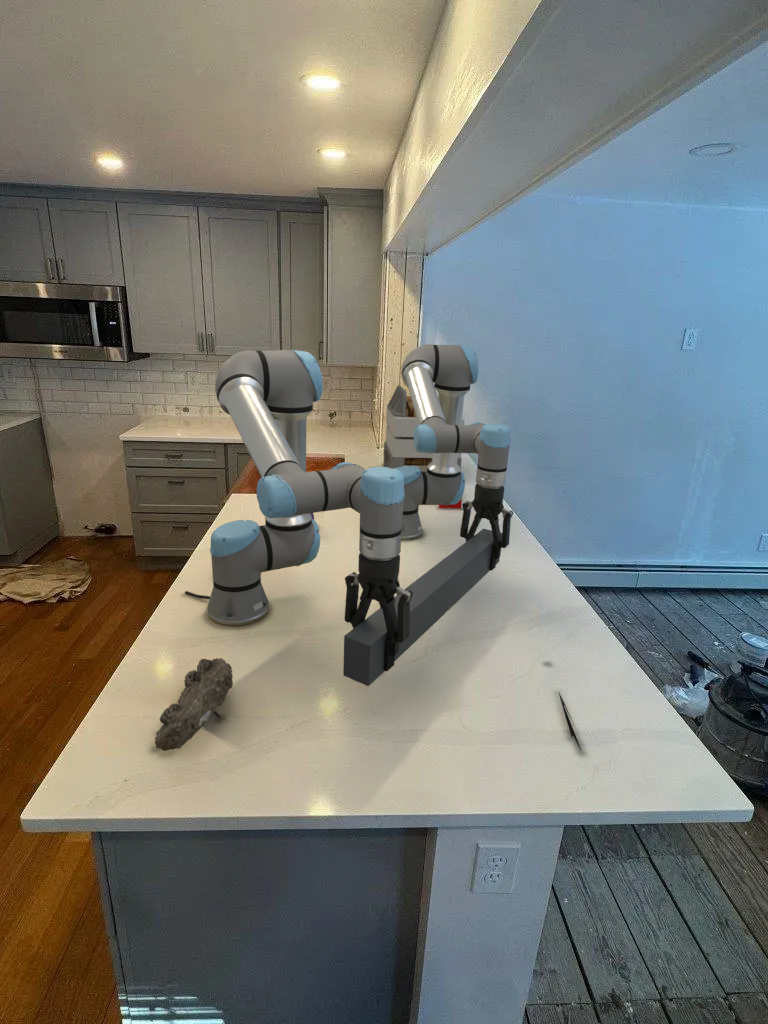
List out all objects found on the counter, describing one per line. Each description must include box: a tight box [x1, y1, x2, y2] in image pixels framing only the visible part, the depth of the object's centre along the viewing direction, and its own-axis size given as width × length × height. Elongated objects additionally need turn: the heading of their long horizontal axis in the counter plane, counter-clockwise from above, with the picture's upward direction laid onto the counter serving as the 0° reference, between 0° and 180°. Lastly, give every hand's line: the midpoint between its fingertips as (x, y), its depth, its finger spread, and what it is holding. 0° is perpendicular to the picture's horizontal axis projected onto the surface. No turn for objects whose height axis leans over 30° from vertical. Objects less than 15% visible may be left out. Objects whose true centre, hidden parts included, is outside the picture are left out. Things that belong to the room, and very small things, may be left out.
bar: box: [342, 528, 502, 687], centre depth 131 cm, size 68×6×9 cm, turn 149°
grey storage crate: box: [383, 384, 465, 469], centre depth 268 cm, size 34×33×41 cm
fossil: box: [154, 657, 234, 752], centre depth 107 cm, size 22×10×15 cm
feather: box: [546, 662, 582, 751], centre depth 116 cm, size 2×28×2 cm
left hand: (374, 661), depth 110 cm, fingers closed on bar, 6 cm apart
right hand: (481, 565), depth 155 cm, fingers closed on bar, 6 cm apart
